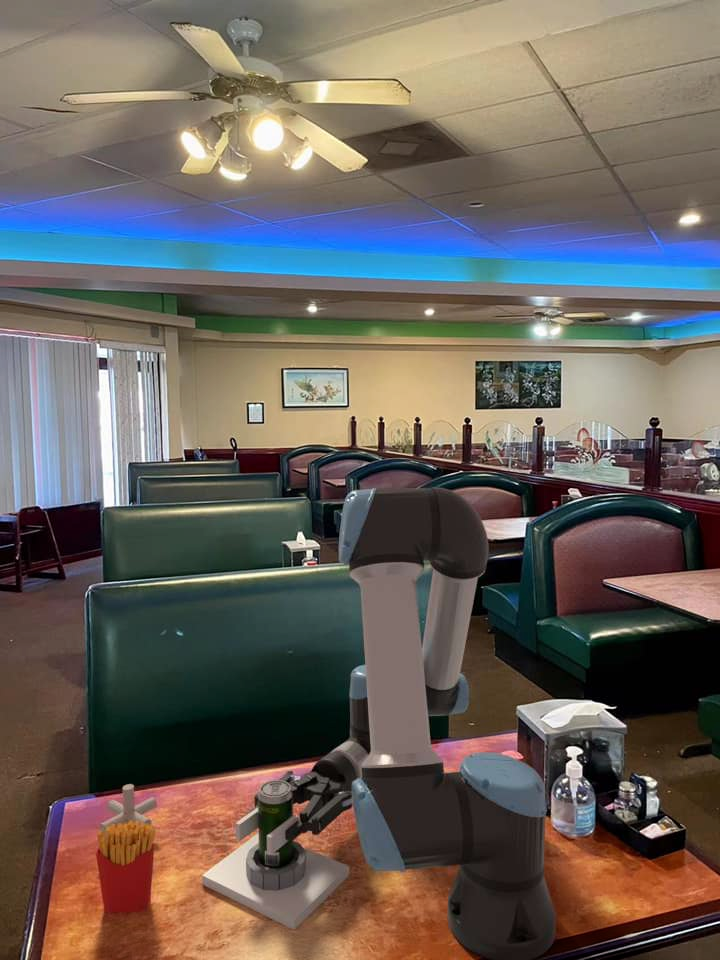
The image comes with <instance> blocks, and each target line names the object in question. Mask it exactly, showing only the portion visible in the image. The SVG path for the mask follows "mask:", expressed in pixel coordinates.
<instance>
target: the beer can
mask: <svg viewBox="0 0 720 960" xmlns="http://www.w3.org/2000/svg"><path fill="white" fill-rule="evenodd" d="M258 789H259V792H258V793H259V794H258V828H257V829H258V833H259V861H260V863H261V865H262V867H263V868H264V869H266V870H281V869H284V868H287V867H289V866H290V865H291V863H292V860H293V857H294V844H293V841H294V840H293V841H288V842H286V843H285V844H284V845H283V846H282V847H280V848H279V849H278V850H277V851H275V852H274V853H273V854H272V855H270V854H267V835H269V834H270V833H271V832H272V831H274V830H275V829H276V828H278V827H279V826H280V825H282V824H283V823H284V822H285V821H287V820H288V819H289V818H291V817H292V816H293V815H294V804H293V793H292V790H291V785H290V784H289V783H287V782H286V781H282V780H279V779H275V780H273V779H272V780H269V781H265V783H262V785H260V787H259V788H258Z"/></svg>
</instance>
